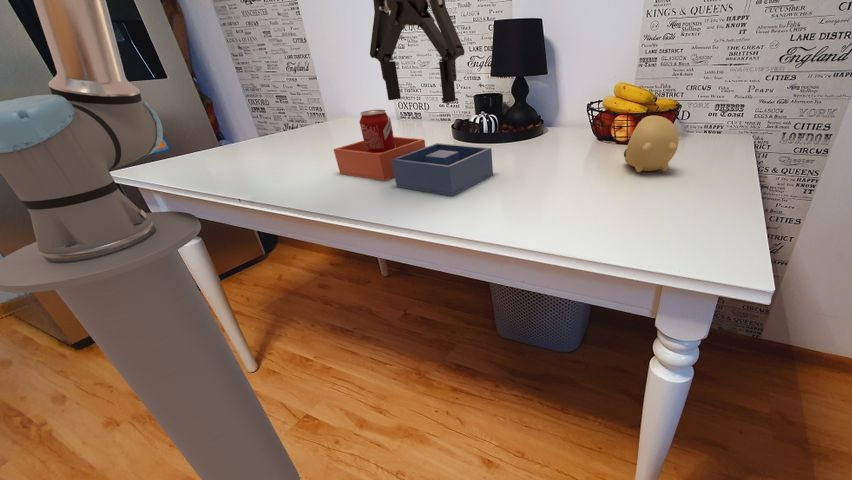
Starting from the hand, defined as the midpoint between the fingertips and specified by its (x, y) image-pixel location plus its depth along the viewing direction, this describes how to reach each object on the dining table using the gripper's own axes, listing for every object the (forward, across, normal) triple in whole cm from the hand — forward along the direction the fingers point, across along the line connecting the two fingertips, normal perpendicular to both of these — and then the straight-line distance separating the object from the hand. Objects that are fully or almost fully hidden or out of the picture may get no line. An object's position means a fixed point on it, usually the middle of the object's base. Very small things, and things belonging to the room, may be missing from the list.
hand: (421, 100), depth 75 cm
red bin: (+16, +18, -4) cm, 24 cm away
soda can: (+16, +18, -4) cm, 24 cm away
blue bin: (+16, -2, -2) cm, 16 cm away
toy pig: (+15, -38, -24) cm, 48 cm away
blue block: (+15, -2, -2) cm, 15 cm away
